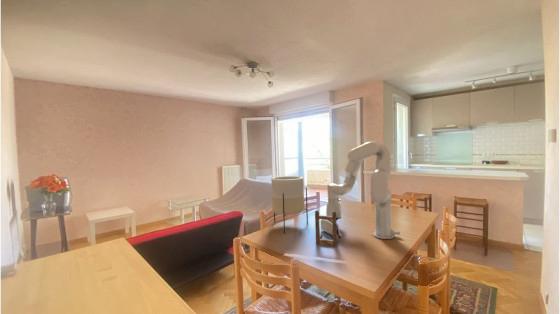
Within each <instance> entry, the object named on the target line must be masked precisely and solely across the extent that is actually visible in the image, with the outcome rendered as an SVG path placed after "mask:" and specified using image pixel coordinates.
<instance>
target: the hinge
mask: <svg viewBox="0 0 560 314" xmlns="http://www.w3.org/2000/svg"><path fill="white" fill-rule="evenodd" d="M320 230H322V231H324V233H328V234H329V235H332V236H333V223H332V220H324V219H320ZM337 235H338V237H341V238H342V237H343V234H342V233H341V231H340V225H339V224H338V223H337Z"/></svg>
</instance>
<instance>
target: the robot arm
mask: <svg viewBox="0 0 560 314" xmlns="http://www.w3.org/2000/svg"><path fill="white" fill-rule="evenodd" d="M371 156H372V157H373V156H375V171H373V172H372V174H371V176H370V197H371V200H372V201H373V202H374V228H375V229H374V231H373V232H372V235H373V237H375V238H379V239H382V240H383V239H384V240H389V239H390V240H392V239H394V238H395V235H398V236H399V235H401V231H399V230H398V229H397V230H395V229H393V227H392V196H393V195H392V191H391V189H390V188H389V184H388V183H389V182H390V181H391V153H390V149H389V148H388V147H387V146H386V145H385V144H383V143H381V142H379V141H367V142H365V143H363V144H361V145H359V146H356V147H355V148H352V149H350V150H349V151H348V153H347V159H348V161H347V163H346V165H345V168H344V170H345V178H344V181H343V183H341V184H337V183H328V184H327V201H326V202H327V203H326V208H325V209H326V213H325V216H332V212H333V211H335V212H336V222H337V221H338V220H341V219H342V206H341V200H342V199H340V198H339V196H345V195H347V194H349V193H351V192H352V190H353V188H354V185H355V184H356V180H357V176H358V173H359V170H360V168H361V166H362V163H363V161H364V159H367V158H370V157H371Z"/></svg>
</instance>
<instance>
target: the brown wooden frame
mask: <svg viewBox="0 0 560 314" xmlns="http://www.w3.org/2000/svg"><path fill="white" fill-rule="evenodd" d="M319 211H320V210H317V209H316V210H315V211H314V213H315V214H314V216H315V217H314V219H315V220H314V221H315V222H314V223H315V224H314V225H315V226H314V227H315V245H316V246H317V245H319V246H329V247H333V248H334V247H335V248H336V247H338V242H339V236H338V235H337V224H338V223H337V221H336V212H335V211H333V212H332V216H326V215H320V212H319ZM322 219H324V220H332V223H333V235H332V239H328V238H323V233H322V232H320V230H321V226H320V220H322Z"/></svg>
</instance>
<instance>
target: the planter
mask: <svg viewBox="0 0 560 314" xmlns="http://www.w3.org/2000/svg"><path fill="white" fill-rule="evenodd" d="M270 180H271V206H272V207H271V209H272V212H273V222H274V224H275V223H276V214H279V215H283V217H282V218H283V233H284V234H286V226H285V225H286V222H285V220H286V219H285V217H286V216H288V215H296V214H300V213H303V212H305V211H306V212H305V213H306V224H307V225H308V224H309V216H308V214H309V213H308V189H307V188H305V187H304V184H305V183H304V177H303V176H298V175H297V176H293V175H290V176H289V175H287V176H286V175H285V176H276V177H272V178H271V179H270ZM305 205H306V206H305ZM305 207H306V208H305Z"/></svg>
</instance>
